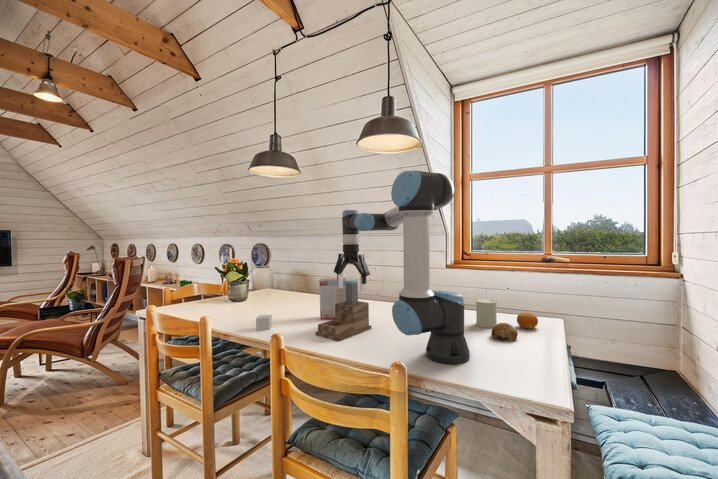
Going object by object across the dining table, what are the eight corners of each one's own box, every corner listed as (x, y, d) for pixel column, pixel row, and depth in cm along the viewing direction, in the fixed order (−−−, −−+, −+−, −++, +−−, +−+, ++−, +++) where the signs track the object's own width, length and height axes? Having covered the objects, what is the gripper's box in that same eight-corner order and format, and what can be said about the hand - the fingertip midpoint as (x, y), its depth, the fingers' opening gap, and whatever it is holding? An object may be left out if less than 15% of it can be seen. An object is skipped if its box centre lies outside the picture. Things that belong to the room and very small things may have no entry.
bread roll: (520, 348, 134) (524, 329, 135) (506, 342, 129) (511, 322, 130) (498, 341, 142) (503, 324, 144) (484, 335, 137) (489, 317, 139)
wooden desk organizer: (371, 328, 152) (371, 303, 151) (338, 341, 135) (338, 312, 135) (348, 323, 161) (348, 299, 160) (315, 335, 144) (315, 308, 144)
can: (497, 328, 149) (497, 302, 148) (476, 327, 152) (476, 301, 151) (496, 323, 158) (495, 298, 157) (475, 321, 160) (475, 297, 160)
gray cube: (271, 327, 158) (271, 314, 158) (269, 330, 152) (269, 317, 152) (259, 327, 158) (258, 315, 158) (256, 331, 152) (256, 318, 152)
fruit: (538, 317, 153) (530, 304, 151) (543, 329, 145) (535, 315, 143) (520, 324, 156) (512, 311, 154) (524, 335, 148) (516, 322, 147)
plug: (358, 310, 152) (357, 280, 152) (352, 312, 149) (351, 281, 149) (351, 309, 155) (351, 279, 154) (345, 311, 152) (345, 281, 151)
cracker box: (347, 316, 175) (347, 277, 175) (346, 319, 169) (346, 279, 169) (321, 316, 176) (320, 277, 176) (319, 319, 170) (319, 279, 170)
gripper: (377, 243, 146) (377, 291, 147) (336, 242, 162) (337, 285, 163) (366, 244, 140) (367, 293, 141) (325, 243, 156) (326, 287, 157)
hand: (351, 289), depth 152 cm, fingers open, 13 cm apart
